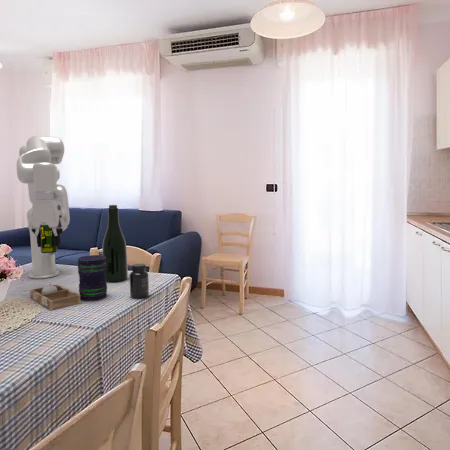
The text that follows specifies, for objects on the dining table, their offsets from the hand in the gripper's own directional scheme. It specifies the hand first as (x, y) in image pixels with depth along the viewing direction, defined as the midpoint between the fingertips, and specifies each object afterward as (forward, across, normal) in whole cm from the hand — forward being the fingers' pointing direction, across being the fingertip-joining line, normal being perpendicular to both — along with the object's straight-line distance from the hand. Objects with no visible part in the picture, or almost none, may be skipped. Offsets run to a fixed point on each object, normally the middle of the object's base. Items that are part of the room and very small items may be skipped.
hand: (48, 245), depth 132 cm
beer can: (+3, 0, 0) cm, 3 cm away
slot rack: (+19, -3, +3) cm, 20 cm away
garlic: (+20, 0, 0) cm, 20 cm away
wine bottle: (+19, -14, -26) cm, 35 cm away
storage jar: (+20, -15, -2) cm, 25 cm away
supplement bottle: (+20, -32, -4) cm, 38 cm away
